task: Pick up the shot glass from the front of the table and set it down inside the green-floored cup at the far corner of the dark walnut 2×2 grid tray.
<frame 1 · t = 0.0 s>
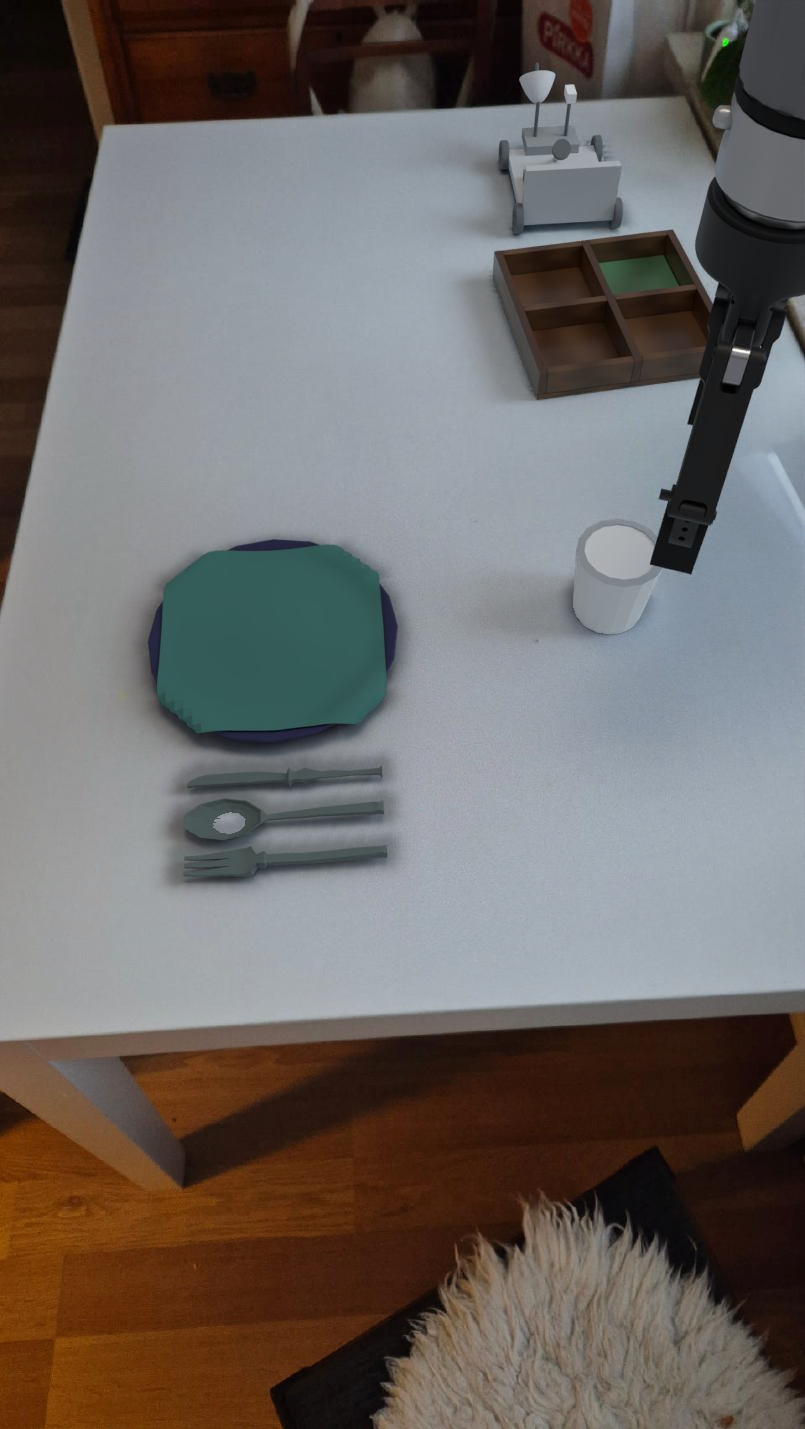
hand: (689, 492, 68), 16 cm above the table, tool pointing down, fingers open, 13 cm apart
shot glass: (606, 608, 84), on the table
toy car: (554, 191, 115), on the table
cutlery set: (276, 701, 79), on the table
grid: (605, 324, 102), on the table
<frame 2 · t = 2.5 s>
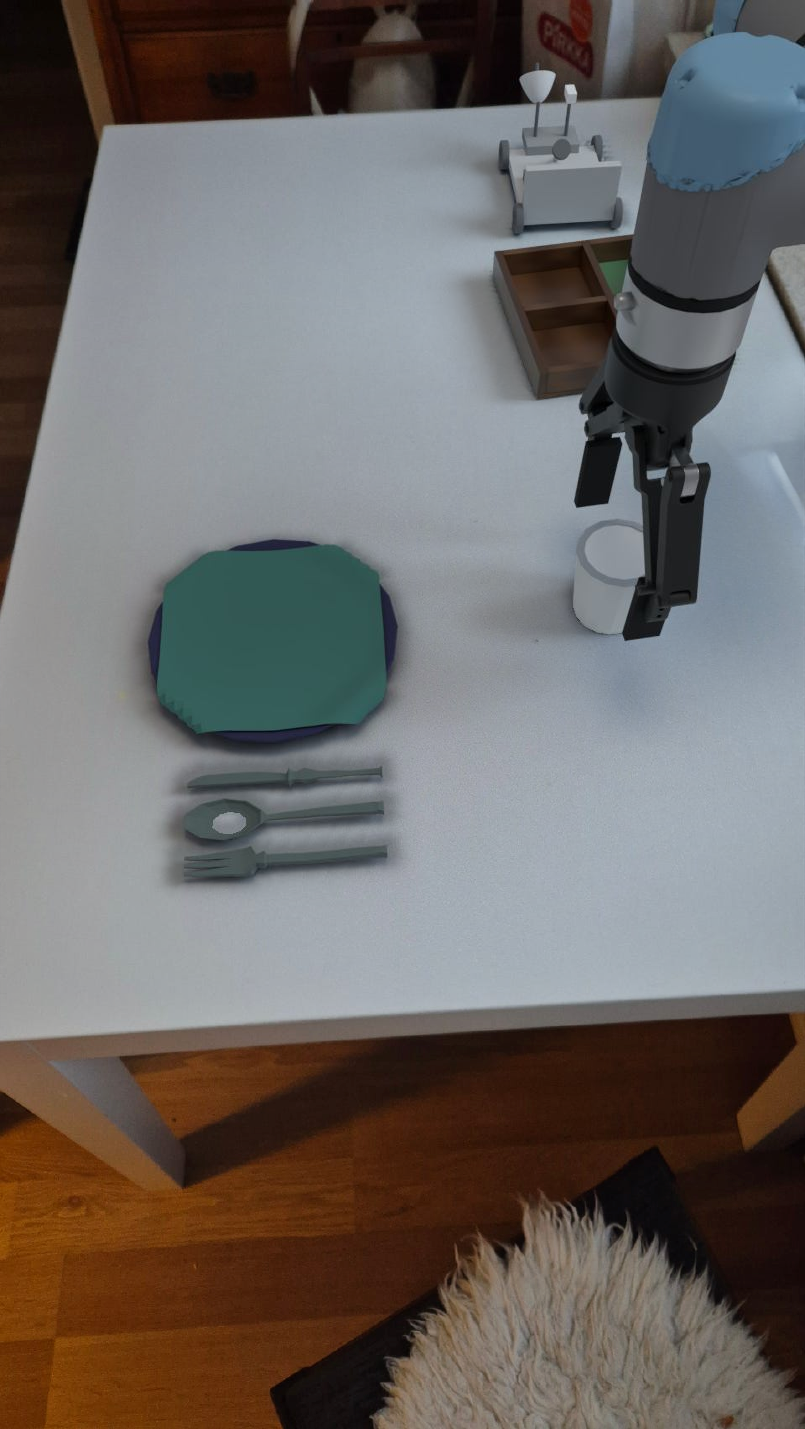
hand: (614, 566, 79), 5 cm above the table, tool pointing down, fingers open, 13 cm apart
nothing on the table moved.
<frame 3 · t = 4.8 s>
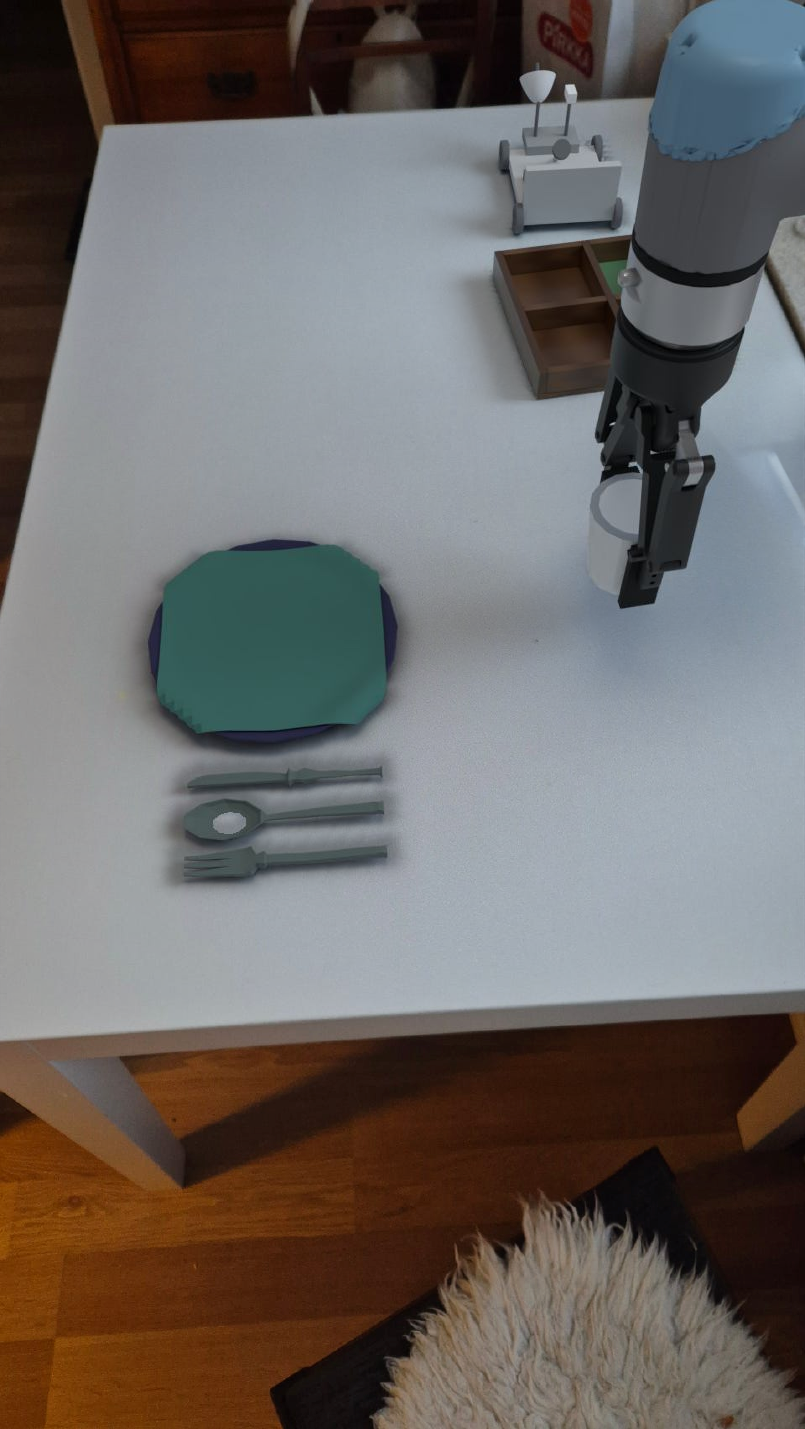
hand: (621, 565, 79), 5 cm above the table, tool pointing down, fingers closed on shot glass, 7 cm apart
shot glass: (622, 569, 79), point 5 cm above the table, touching gripper
everything else where it was.
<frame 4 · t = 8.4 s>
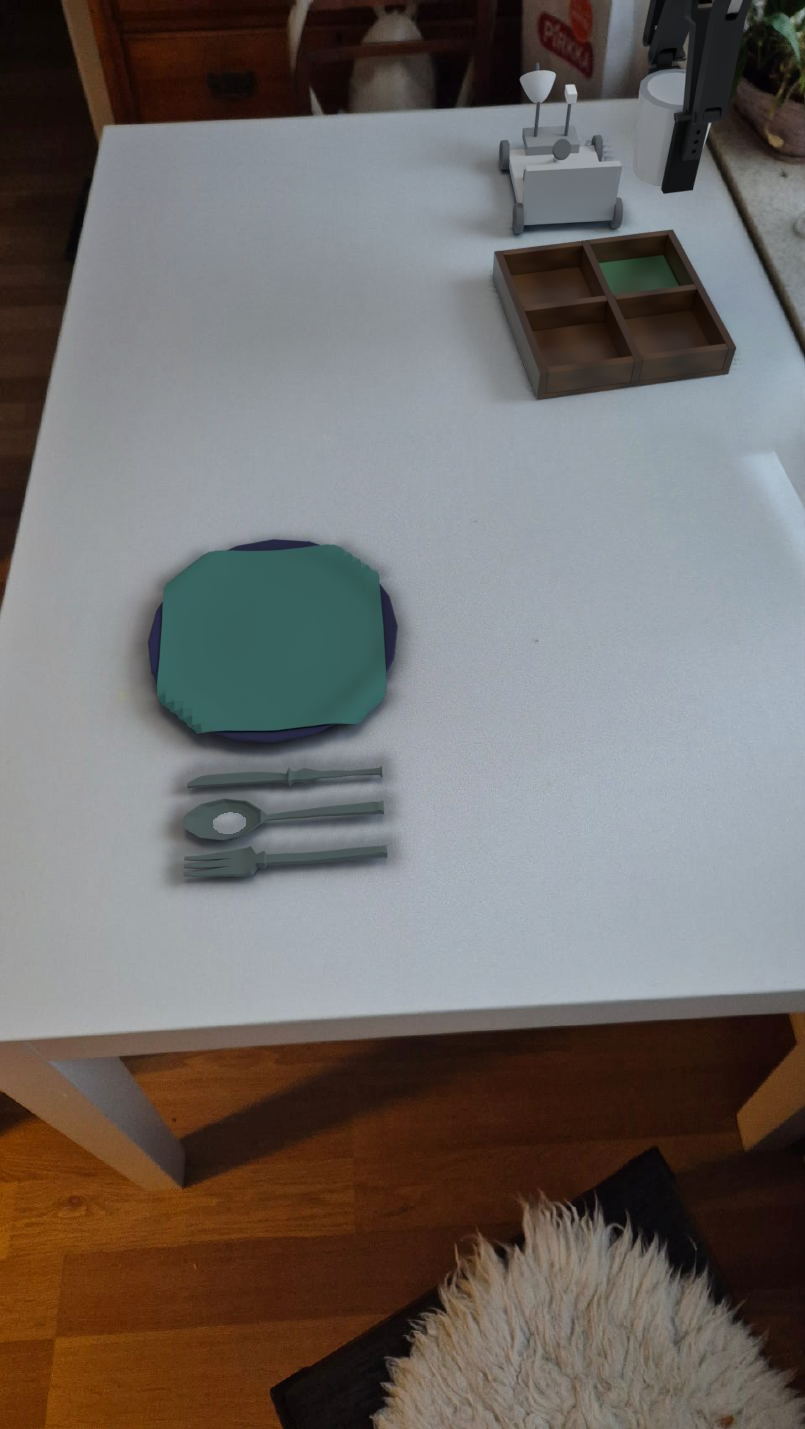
hand: (663, 166, 91), 15 cm above the table, tool pointing down, fingers closed on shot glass, 7 cm apart
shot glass: (663, 171, 92), point 14 cm above the table, touching gripper
everything else where it was.
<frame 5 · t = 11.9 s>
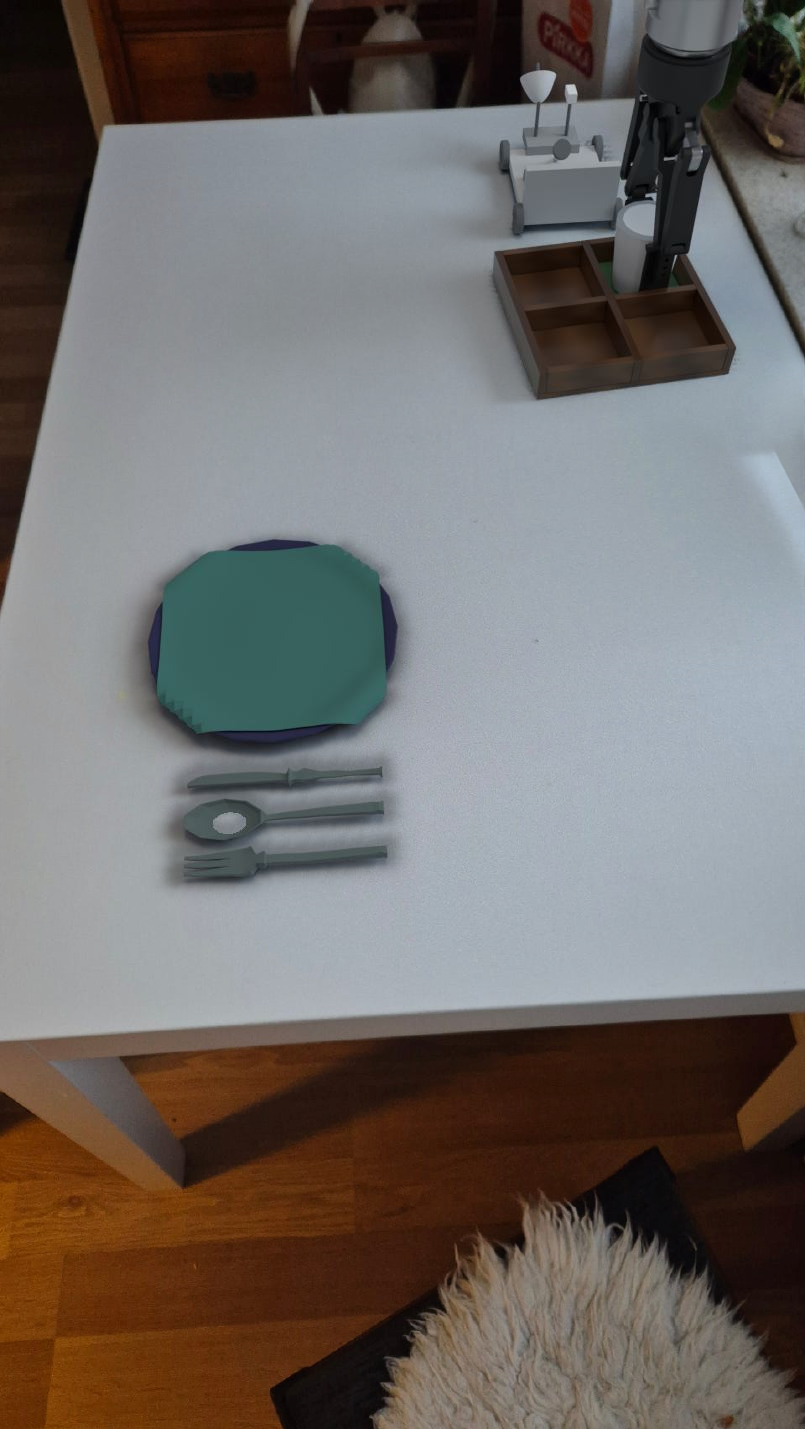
hand: (639, 280, 104), 1 cm above the table, tool pointing down, fingers closed on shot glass, 7 cm apart
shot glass: (638, 284, 105), point 1 cm above the table, touching gripper
everything else where it was.
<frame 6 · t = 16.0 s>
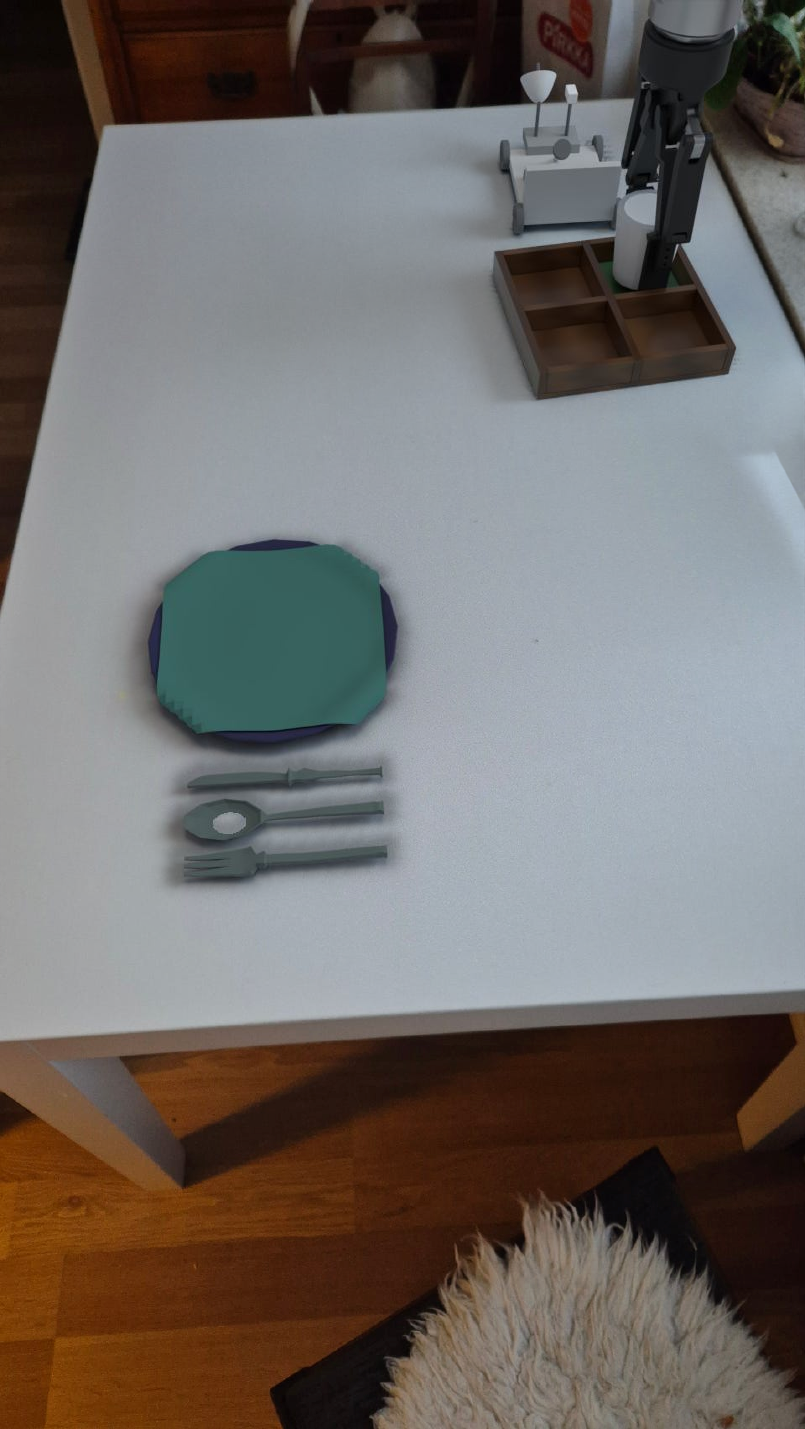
hand: (639, 271, 103), 2 cm above the table, tool pointing down, fingers closed on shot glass, 7 cm apart
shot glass: (639, 275, 104), point 2 cm above the table, touching gripper
everything else where it was.
when the fingers open (3 cm above the table, at t = 19.3 s): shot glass stays where it is, resting on grid.
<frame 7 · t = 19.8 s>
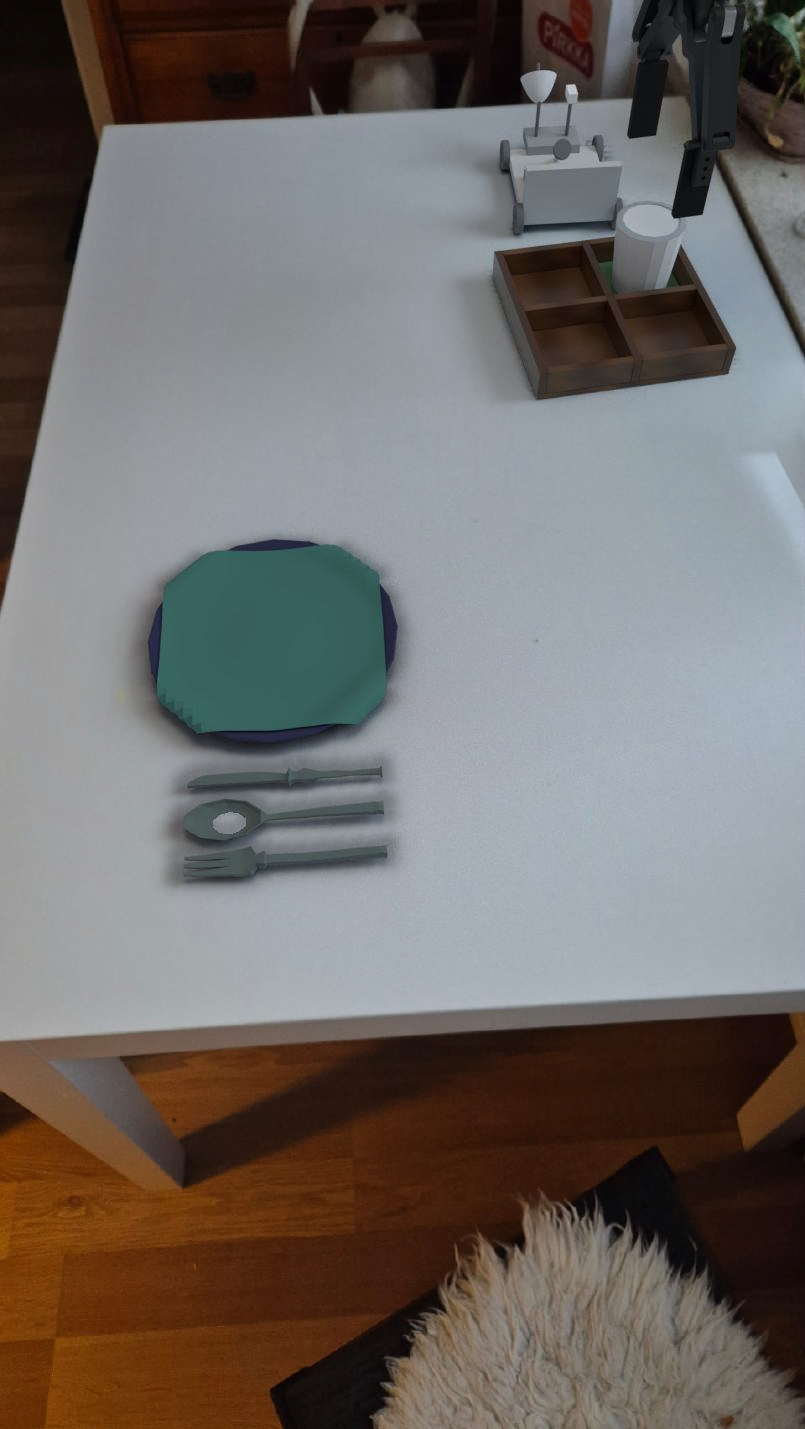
hand: (663, 174, 94), 12 cm above the table, tool pointing down, fingers open, 13 cm apart
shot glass: (638, 285, 105), point 1 cm above the table, touching grid
everything else where it was.
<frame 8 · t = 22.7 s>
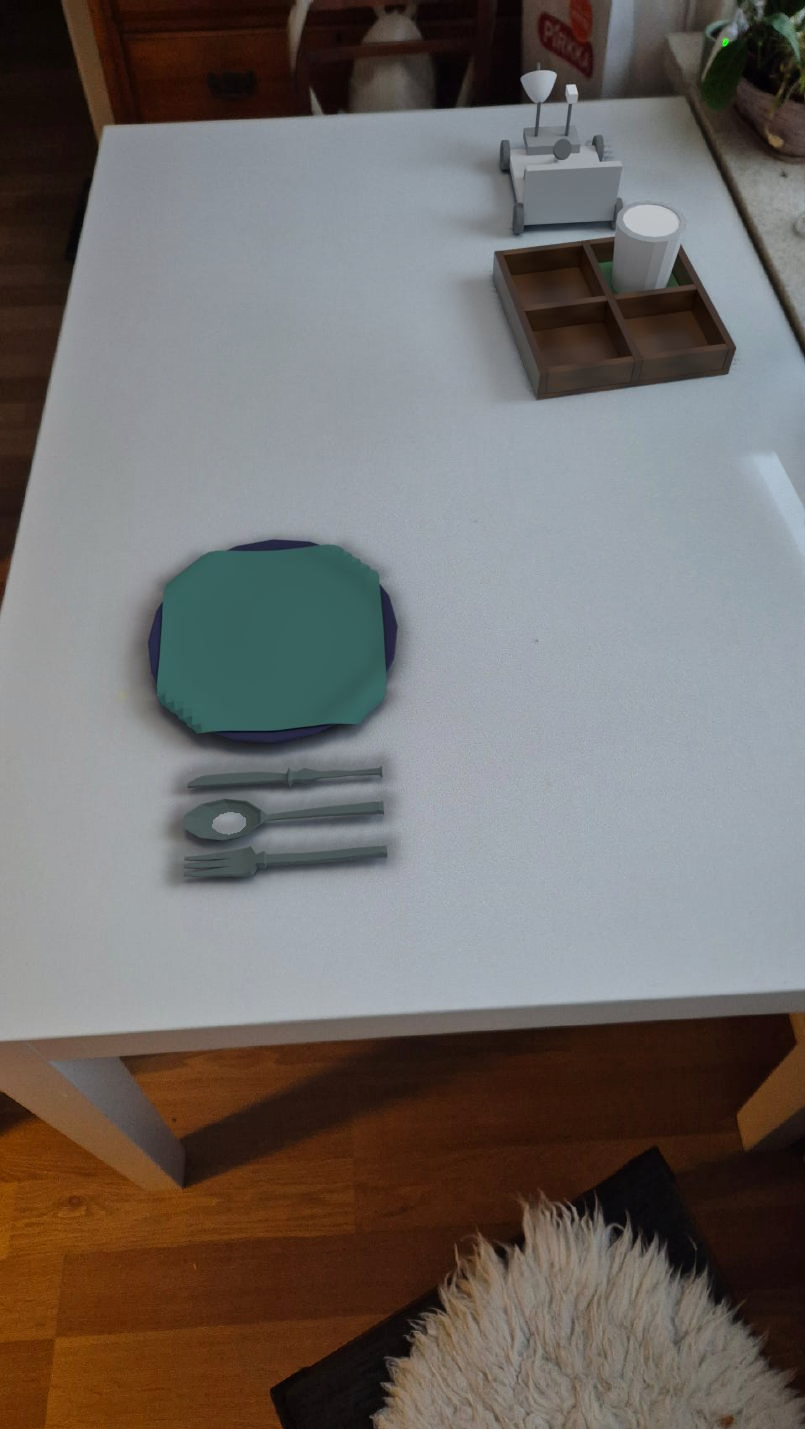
nothing on the table moved.
at the end: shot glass 0.1 cm from the target spot in the grid, point 0.6 cm above the grid's base; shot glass tilted 0°; the gripper is holding nothing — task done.
